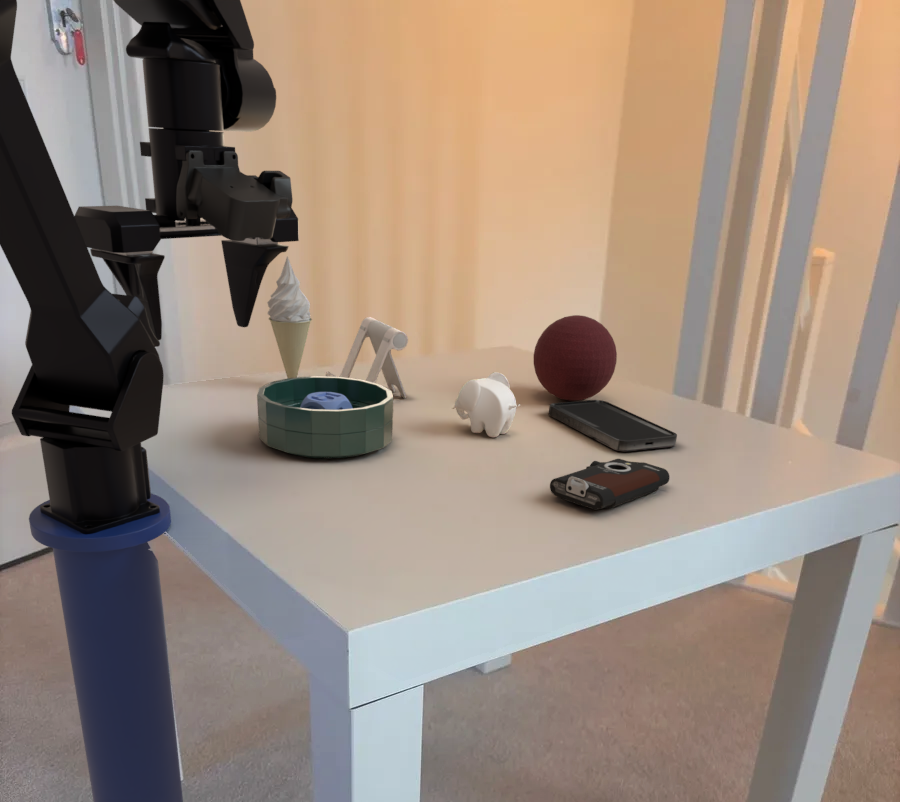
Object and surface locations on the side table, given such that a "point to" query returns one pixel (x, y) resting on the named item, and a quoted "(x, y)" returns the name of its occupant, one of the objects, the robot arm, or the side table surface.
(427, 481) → the side table surface
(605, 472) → the camera
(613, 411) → the phone
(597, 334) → the decorative ball
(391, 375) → the tablet stand
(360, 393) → the bowl
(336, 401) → the decorative dice
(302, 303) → the ice cream cone
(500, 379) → the elephant figurine
